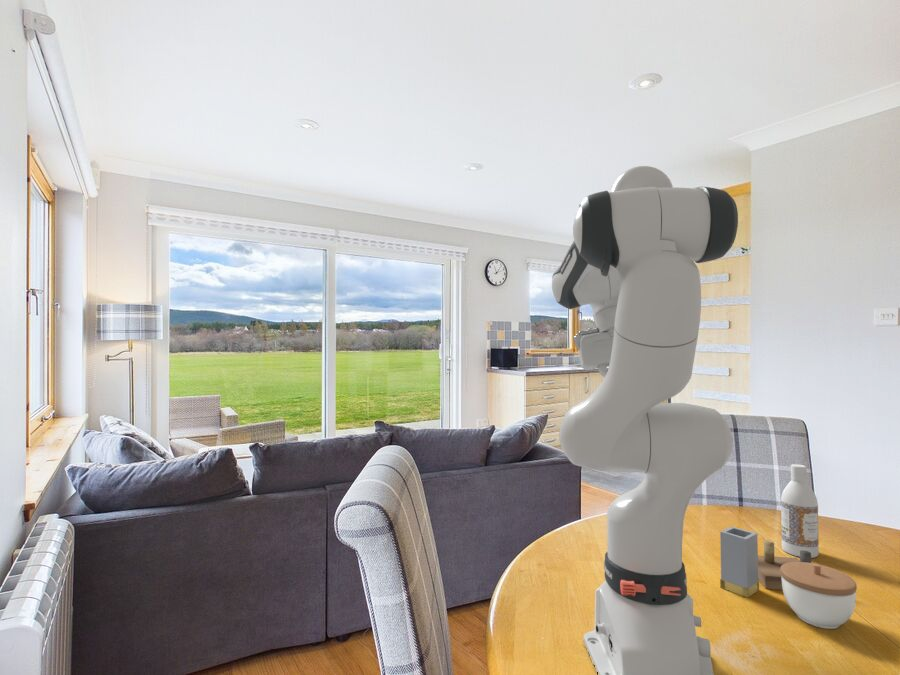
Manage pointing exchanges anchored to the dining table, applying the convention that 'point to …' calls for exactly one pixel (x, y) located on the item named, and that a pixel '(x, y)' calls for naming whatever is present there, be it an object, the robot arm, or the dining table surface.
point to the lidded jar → (818, 593)
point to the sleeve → (739, 561)
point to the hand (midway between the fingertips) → (633, 380)
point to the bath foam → (799, 515)
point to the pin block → (775, 566)
